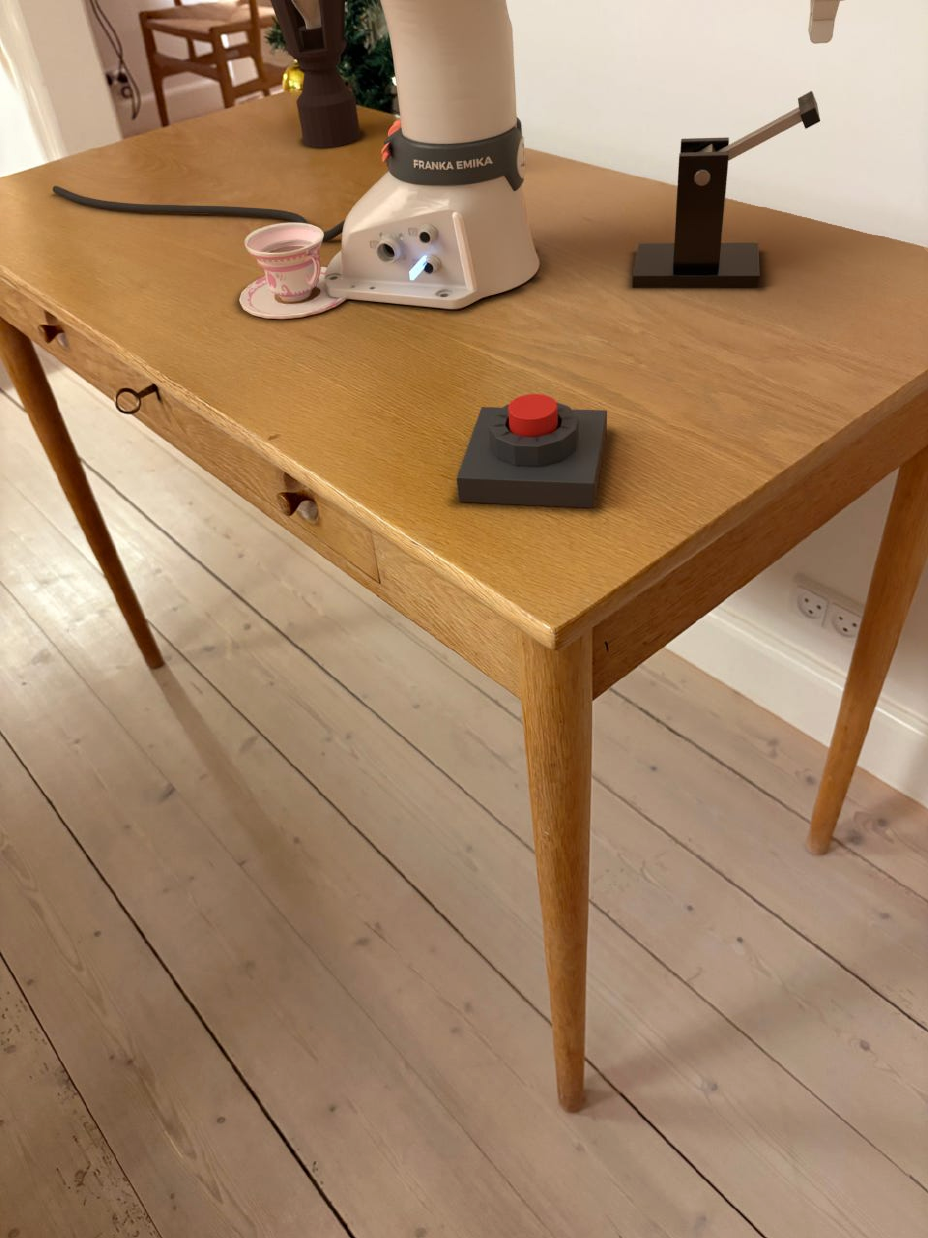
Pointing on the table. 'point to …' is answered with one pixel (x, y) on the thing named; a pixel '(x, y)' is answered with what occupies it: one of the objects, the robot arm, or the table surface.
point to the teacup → (287, 272)
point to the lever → (774, 127)
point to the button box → (534, 461)
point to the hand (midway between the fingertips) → (819, 38)
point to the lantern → (319, 69)
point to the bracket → (699, 230)
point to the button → (533, 415)
